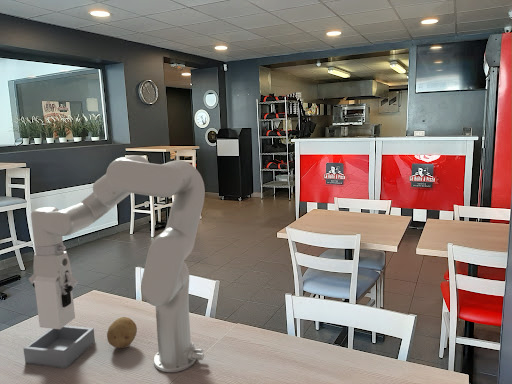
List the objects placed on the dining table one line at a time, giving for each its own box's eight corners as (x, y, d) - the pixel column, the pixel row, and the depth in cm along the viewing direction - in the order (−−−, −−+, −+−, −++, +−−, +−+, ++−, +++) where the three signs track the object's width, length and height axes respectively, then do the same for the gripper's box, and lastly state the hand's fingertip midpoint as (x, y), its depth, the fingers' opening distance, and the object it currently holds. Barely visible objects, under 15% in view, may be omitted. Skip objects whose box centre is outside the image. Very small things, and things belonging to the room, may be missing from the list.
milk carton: (60, 329, 118) (53, 269, 115) (39, 327, 119) (32, 268, 116) (75, 318, 125) (69, 261, 122) (55, 316, 126) (49, 259, 123)
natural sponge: (131, 356, 121) (129, 326, 119) (103, 356, 121) (100, 326, 120) (141, 340, 130) (139, 312, 128) (115, 340, 130) (112, 312, 129)
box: (95, 342, 129) (93, 328, 128) (66, 368, 116) (64, 352, 115) (57, 338, 132) (55, 324, 131) (25, 363, 119) (23, 348, 118)
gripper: (83, 246, 120) (88, 301, 123) (33, 243, 123) (40, 296, 126) (66, 254, 113) (72, 312, 116) (14, 251, 116) (21, 307, 119)
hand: (55, 303), depth 121 cm, fingers closed on milk carton, 7 cm apart
